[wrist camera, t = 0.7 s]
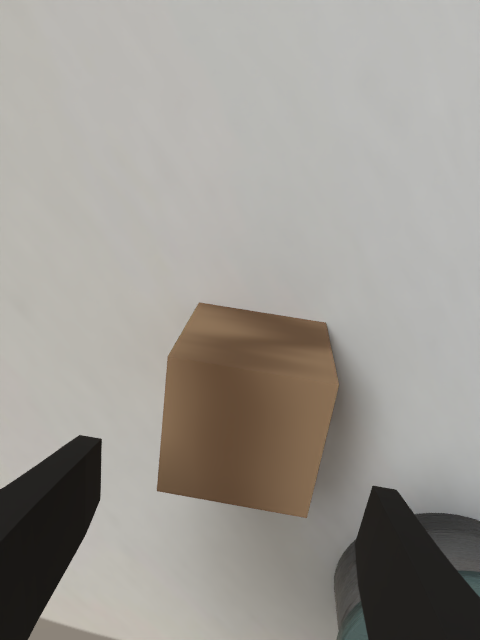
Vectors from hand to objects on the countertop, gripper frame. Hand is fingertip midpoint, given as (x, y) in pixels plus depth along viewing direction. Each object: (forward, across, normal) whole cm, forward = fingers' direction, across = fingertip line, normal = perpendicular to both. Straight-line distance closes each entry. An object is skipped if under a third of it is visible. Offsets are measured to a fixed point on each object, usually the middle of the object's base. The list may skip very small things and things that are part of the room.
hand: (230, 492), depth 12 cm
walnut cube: (+7, 0, 0) cm, 7 cm away
